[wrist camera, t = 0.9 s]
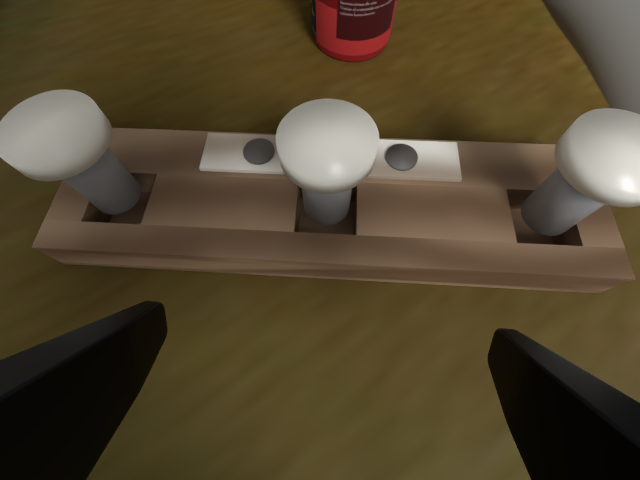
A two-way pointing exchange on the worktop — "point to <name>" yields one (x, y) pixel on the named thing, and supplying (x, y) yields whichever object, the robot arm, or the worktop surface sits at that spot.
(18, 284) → the worktop surface
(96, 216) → the console
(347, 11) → the canned food
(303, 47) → the worktop surface
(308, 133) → the middle button
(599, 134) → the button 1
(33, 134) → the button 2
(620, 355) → the worktop surface
